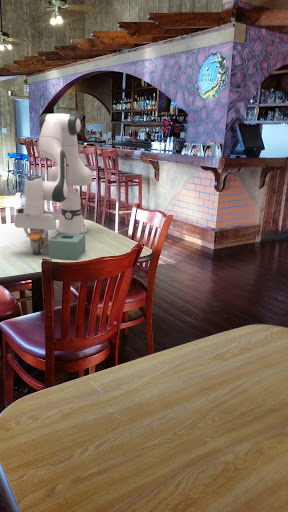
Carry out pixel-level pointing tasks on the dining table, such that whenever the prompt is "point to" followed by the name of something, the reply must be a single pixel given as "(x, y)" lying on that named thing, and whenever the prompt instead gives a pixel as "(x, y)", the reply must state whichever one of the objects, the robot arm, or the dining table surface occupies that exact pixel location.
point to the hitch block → (66, 246)
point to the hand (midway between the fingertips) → (36, 237)
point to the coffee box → (44, 240)
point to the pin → (36, 242)
